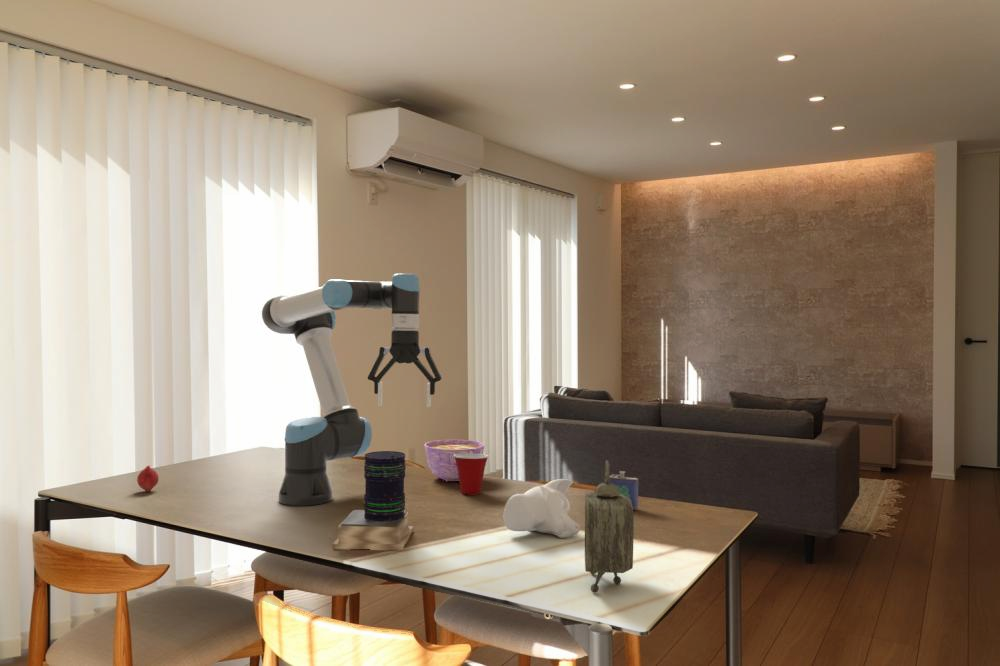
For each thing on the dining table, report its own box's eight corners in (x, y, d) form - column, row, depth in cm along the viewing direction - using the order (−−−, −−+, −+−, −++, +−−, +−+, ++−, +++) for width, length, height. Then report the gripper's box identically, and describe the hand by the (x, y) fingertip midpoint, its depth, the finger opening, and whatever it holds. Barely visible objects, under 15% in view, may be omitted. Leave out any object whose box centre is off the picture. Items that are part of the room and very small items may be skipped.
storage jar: (355, 516, 181) (355, 454, 181) (387, 509, 188) (387, 449, 188) (381, 524, 174) (382, 460, 174) (413, 516, 182) (414, 454, 181)
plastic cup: (490, 489, 235) (490, 451, 234) (486, 497, 224) (486, 457, 224) (455, 488, 236) (456, 450, 235) (450, 496, 225) (450, 456, 225)
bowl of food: (488, 485, 241) (489, 449, 241) (426, 486, 238) (426, 450, 237) (480, 472, 260) (480, 439, 260) (422, 473, 257) (422, 440, 257)
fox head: (565, 519, 174) (605, 497, 190) (509, 484, 182) (552, 466, 198) (548, 567, 178) (589, 542, 194) (494, 531, 186) (538, 509, 202)
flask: (638, 509, 212) (639, 471, 212) (636, 511, 210) (637, 473, 210) (606, 506, 216) (607, 468, 216) (604, 508, 213) (604, 470, 213)
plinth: (332, 549, 173) (332, 525, 173) (349, 529, 189) (349, 508, 189) (401, 550, 172) (402, 527, 172) (413, 531, 188) (413, 509, 188)
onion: (132, 492, 225) (132, 465, 225) (148, 488, 231) (148, 462, 231) (147, 494, 223) (147, 467, 223) (162, 490, 228) (162, 464, 228)
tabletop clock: (584, 571, 160) (585, 453, 159) (627, 572, 159) (629, 455, 159) (585, 596, 146) (587, 467, 145) (633, 598, 145) (635, 468, 144)
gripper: (357, 329, 205) (356, 407, 206) (448, 330, 204) (447, 408, 205) (363, 328, 213) (362, 403, 213) (451, 330, 212) (450, 405, 212)
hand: (404, 406), depth 209 cm, fingers open, 13 cm apart
